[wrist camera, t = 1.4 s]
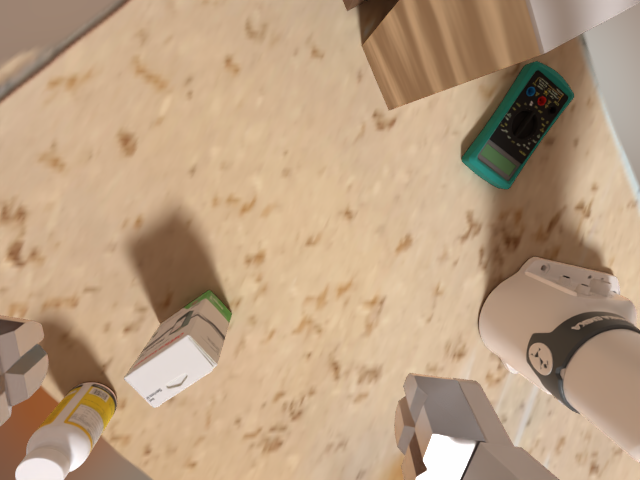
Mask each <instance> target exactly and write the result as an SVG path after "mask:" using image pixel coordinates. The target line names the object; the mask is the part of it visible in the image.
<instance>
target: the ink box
mask: <svg viewBox="0 0 640 480" xmlns="http://www.w3.org/2000/svg"><path fill="white" fill-rule="evenodd" d="M231 315H232V313H231V312H230V311H229V310H228V309H227V308H226V306H225V305H224V304H223V303H222V302H221V301H220V300H219V299H218V298H217V297H216V296H215V295H214V294H213V293H212V292H211V291H210V290H208V291H207V292H205V293H204V294H202V295H201V296H199V297H198V298H197V299H195V300H194V301H192V302H191V303H189V304H188V305H187V306H185V307H184V308H182V309H181V310H179V311H178V312H177V313H175V314H174V315H172V316H171V317H169V318H168V319H167V320H165V321H164V322H162V323H161V324H160V325H159V327H158V328H157V330H156V331H155V333H154V334H153V336H152V337H151V339H150V340H149V342H148V343H147V345H146V346H145V348H144V349H143V351H142V352H141V354H140V355H139V357H138V358H137V360H136V361H135V363H134V364H133V366H132V367H131V368H130V370H129V371H128V373H127V374H126V376H125V377H124V380H125V381H127V382H128V383H129V384H130V385H131V386H132V387H133V388H134V389H135V390H136V391H137V392H138V393H139V394H140V395H141V396H142V397H143V398H144V399H145V400H146V401H147V402H148V403H149V404H150V405H151V406H152V407H158V406H160V405H161V404H162V403H164V402H166V401H167V400H168V399H170V398H172V397H173V396H175V395H176V394H178V393H179V392H181V391H182V390H184V389H185V388H187V387H189V386H190V385H192V384H193V383H195V382H196V381H198V380H199V379H201V378H202V377H204V376H205V375H207V374H209V373H210V372H211V371H212V370H213V368H214V367H216V366H217V363H218V360H219V357H220V353H221V350H222V347H223V343H224V339H225V336H226V332H227V329H228V325H229V322H230V319H231Z"/></svg>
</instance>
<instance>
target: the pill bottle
mask: <svg viewBox="0 0 640 480" xmlns="http://www.w3.org/2000/svg"><path fill="white" fill-rule="evenodd" d="M116 407H117V399H116V396H115V394H114V393H113V391H112V390H111V389H110V388H108V387H107V386H105V385H103V384H100V383H94V382H88V383H83V384H80V385H78V386H76V387H74V388H73V389H72V390H71V391H70V392H69V393H68V394H67V395H66V396H65V397H64V399H63V400H62V401H61V402H60V403H59V404H58V405H57V407H56V408H55V409H54V410H53V411H52V412H51V414H50V415H49V416H48V417H47V418H46V420H45V421H44V422H43V423H42V424H41V426H40V427H39V428H38V429H37V430H36V432H35V433H34V434H33V435H32V436H31V438H30V440H29V442H28V444H27V449H26V453H27V455H26V457H25V458H24V459H23V460H22V462H21V463H20V464H19V466H18V467H17V469H16V474H15V476H16V480H64V479H65V477H66V476H67V474H68V472H70V471H73V470H75V469H76V468H78V467H79V466H80V465H81V464H82V463H83V462H84V461H85V460H86V459H87V457H88V455H89V454H90V452H91V451H92V449H93V447H94V446H95V444H96V442H97V441H98V439H99V437H100V436H101V434H102V432H103V431H104V429H105V427H106V426H107V424H108V422H109V421H110V419H111V418H112V416H113V414H114V412H115V410H116Z"/></svg>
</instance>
